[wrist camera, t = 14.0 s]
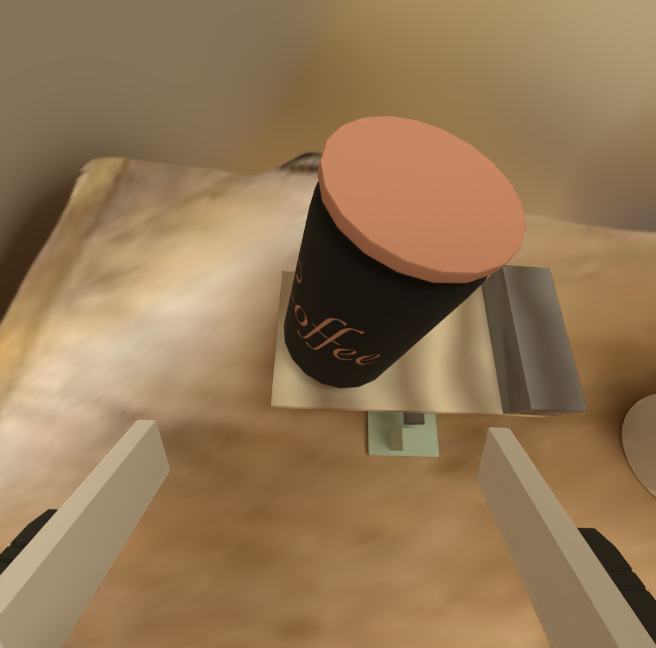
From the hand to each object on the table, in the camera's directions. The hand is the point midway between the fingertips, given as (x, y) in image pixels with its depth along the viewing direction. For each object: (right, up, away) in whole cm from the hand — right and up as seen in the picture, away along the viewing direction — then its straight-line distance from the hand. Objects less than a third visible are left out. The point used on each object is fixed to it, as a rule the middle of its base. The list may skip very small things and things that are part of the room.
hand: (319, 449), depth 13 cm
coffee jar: (+1, +4, +18) cm, 19 cm away
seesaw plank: (+9, +2, +23) cm, 24 cm away
